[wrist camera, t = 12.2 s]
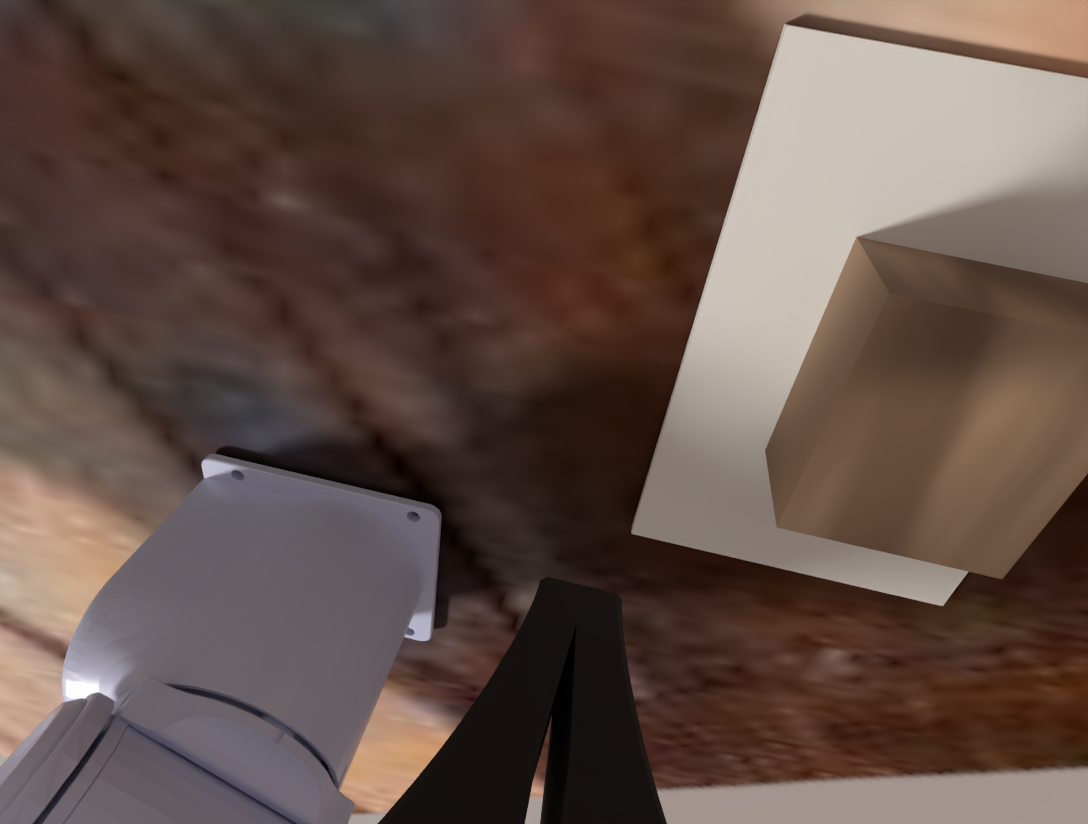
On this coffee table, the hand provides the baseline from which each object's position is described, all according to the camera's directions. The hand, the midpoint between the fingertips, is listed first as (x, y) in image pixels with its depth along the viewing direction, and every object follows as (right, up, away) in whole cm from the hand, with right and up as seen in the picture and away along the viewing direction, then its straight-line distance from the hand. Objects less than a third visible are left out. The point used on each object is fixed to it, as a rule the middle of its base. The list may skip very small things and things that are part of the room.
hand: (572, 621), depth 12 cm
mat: (+9, +5, +8) cm, 13 cm away
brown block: (+7, +4, +6) cm, 10 cm away
